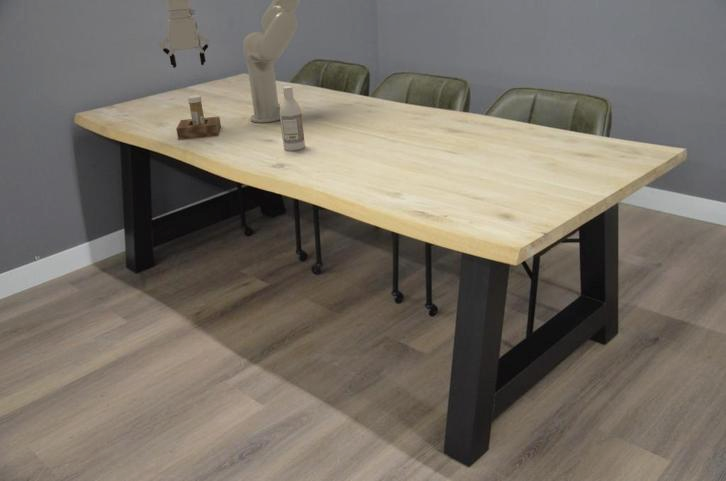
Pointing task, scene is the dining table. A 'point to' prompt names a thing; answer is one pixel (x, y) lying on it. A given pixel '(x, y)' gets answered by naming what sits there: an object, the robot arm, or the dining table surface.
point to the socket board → (198, 128)
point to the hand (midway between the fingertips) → (188, 65)
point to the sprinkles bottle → (196, 110)
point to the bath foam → (291, 122)
